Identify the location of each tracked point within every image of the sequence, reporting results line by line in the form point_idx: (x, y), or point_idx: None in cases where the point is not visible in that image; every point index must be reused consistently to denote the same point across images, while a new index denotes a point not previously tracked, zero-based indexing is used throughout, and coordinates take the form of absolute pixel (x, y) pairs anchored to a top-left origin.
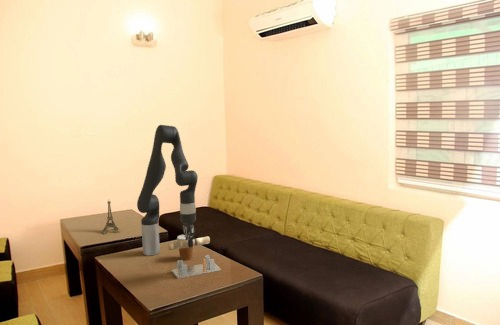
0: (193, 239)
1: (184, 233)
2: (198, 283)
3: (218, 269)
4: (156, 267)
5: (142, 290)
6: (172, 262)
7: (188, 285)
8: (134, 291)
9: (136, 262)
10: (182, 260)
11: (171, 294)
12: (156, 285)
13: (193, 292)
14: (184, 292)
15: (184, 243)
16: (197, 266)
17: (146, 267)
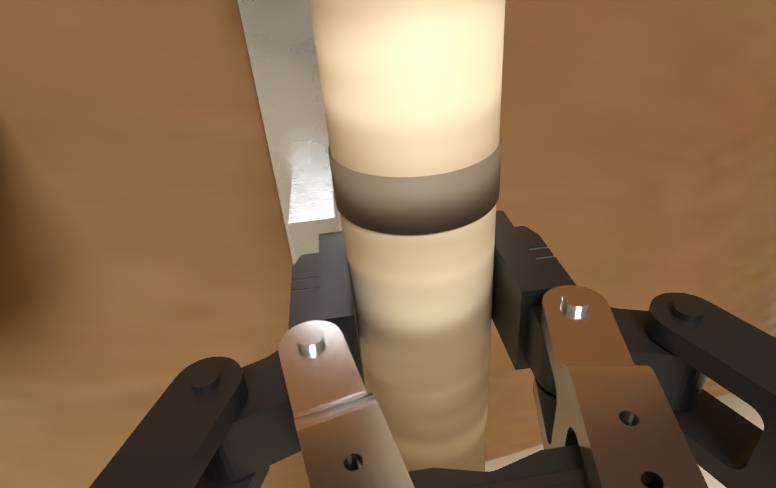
0: (453, 244)
1: (258, 484)
2: (652, 93)
3: None
4: (155, 351)
5: (526, 417)
6: (42, 230)
7: (633, 176)
8: (515, 445)
9: (6, 460)
10: (317, 222)
11: (684, 292)
12: (501, 358)
13: (765, 163)
14: (718, 219)
15: (486, 377)
16: (295, 17)
17: (138, 406)
